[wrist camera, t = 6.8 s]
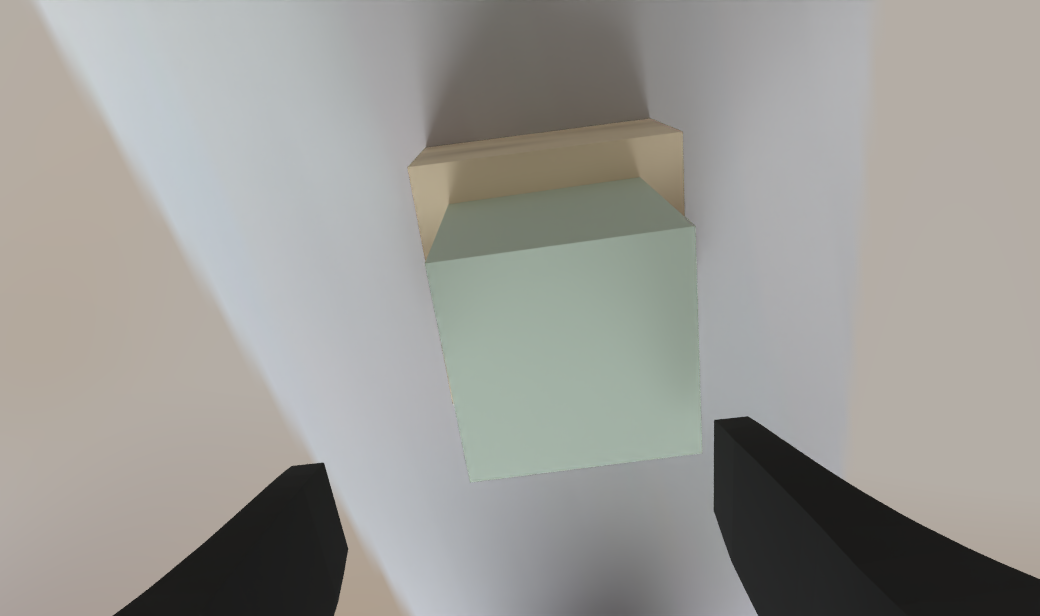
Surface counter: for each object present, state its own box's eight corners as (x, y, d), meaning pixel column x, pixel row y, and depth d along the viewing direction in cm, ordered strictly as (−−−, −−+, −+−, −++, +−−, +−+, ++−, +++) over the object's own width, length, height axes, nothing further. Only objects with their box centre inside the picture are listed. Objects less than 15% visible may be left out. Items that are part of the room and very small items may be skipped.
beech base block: (656, 321, 22) (687, 375, 18) (461, 345, 22) (452, 404, 18) (648, 117, 19) (682, 131, 15) (426, 146, 19) (407, 167, 16)
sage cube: (650, 349, 18) (701, 453, 13) (479, 372, 18) (469, 482, 13) (639, 176, 16) (695, 226, 11) (448, 204, 16) (424, 263, 11)
